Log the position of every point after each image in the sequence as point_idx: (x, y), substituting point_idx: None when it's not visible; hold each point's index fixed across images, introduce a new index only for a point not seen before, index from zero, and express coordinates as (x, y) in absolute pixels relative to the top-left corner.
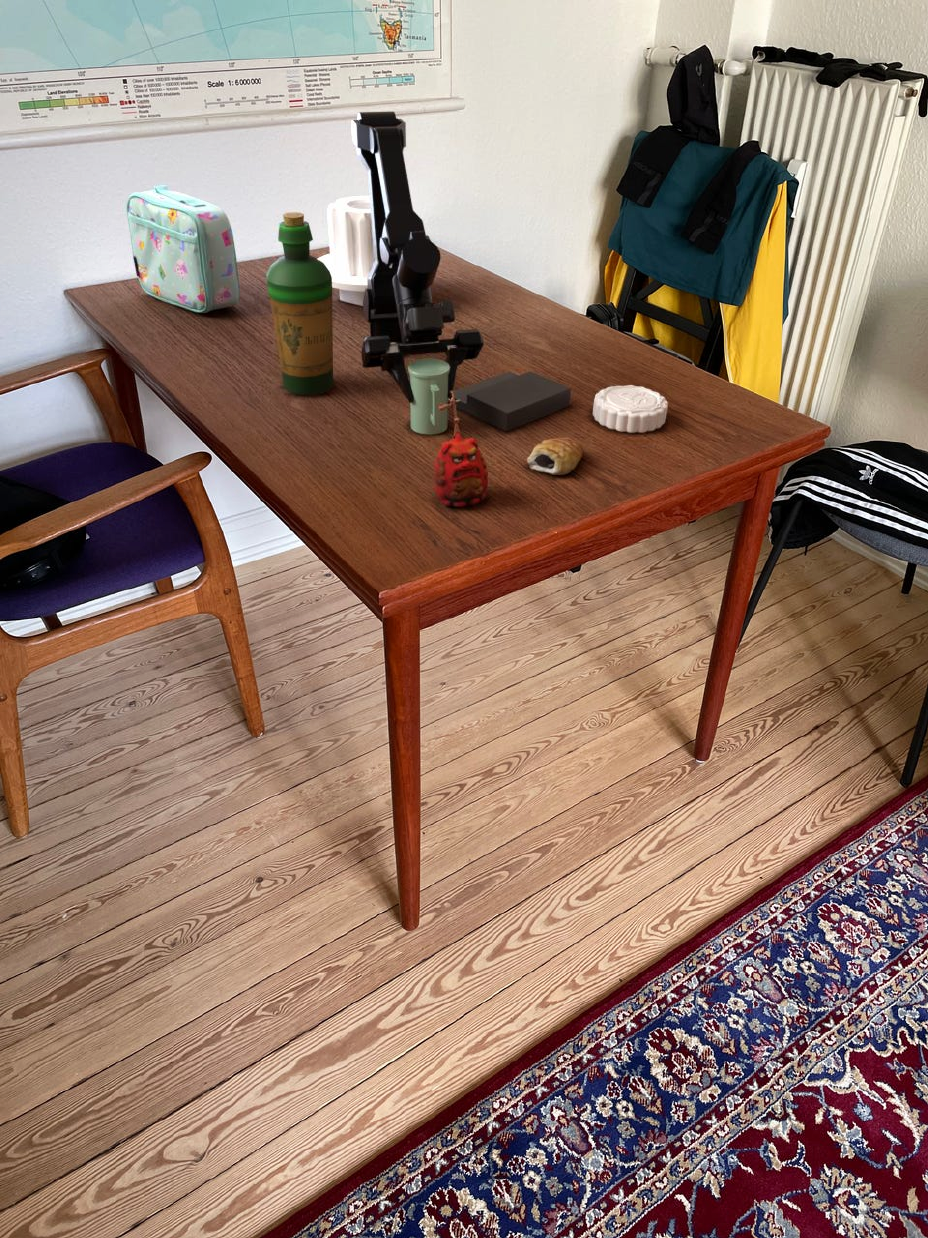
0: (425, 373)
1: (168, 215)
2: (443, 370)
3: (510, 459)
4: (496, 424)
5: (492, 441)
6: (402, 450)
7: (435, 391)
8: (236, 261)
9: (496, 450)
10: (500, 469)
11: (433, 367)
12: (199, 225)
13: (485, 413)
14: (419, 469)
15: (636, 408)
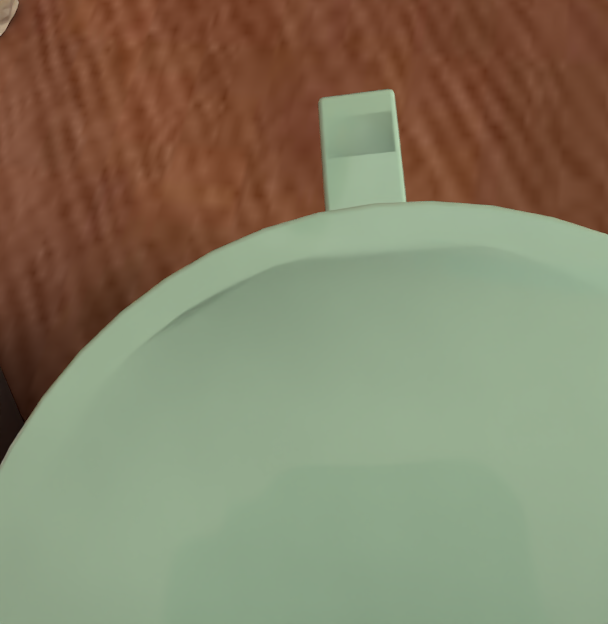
0: (548, 288)
1: None
2: (133, 402)
3: (68, 80)
4: (7, 402)
5: (88, 249)
6: (561, 205)
7: (374, 101)
8: None
9: (98, 162)
10: (135, 5)
11: (314, 619)
12: None
13: None
14: (486, 19)
15: None
